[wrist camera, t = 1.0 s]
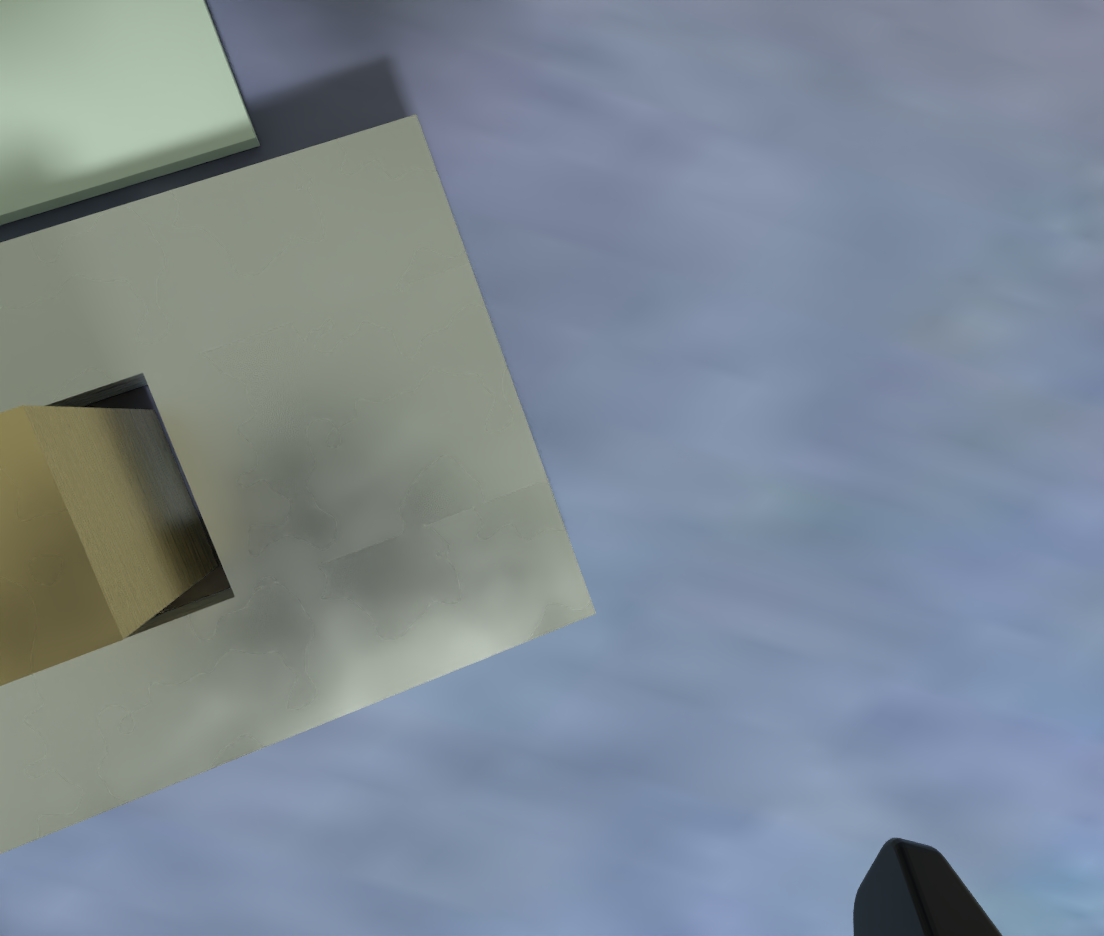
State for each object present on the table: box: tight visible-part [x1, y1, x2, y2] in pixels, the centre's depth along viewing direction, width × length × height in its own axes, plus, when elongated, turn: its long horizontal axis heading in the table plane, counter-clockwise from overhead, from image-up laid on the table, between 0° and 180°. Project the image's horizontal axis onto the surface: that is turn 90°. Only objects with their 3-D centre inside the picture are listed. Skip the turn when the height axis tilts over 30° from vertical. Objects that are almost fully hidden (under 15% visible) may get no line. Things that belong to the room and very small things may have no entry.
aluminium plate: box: [0, 114, 596, 854], centre depth 19 cm, size 20×12×2 cm, turn 110°
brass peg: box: [0, 405, 218, 686], centre depth 17 cm, size 4×4×7 cm
